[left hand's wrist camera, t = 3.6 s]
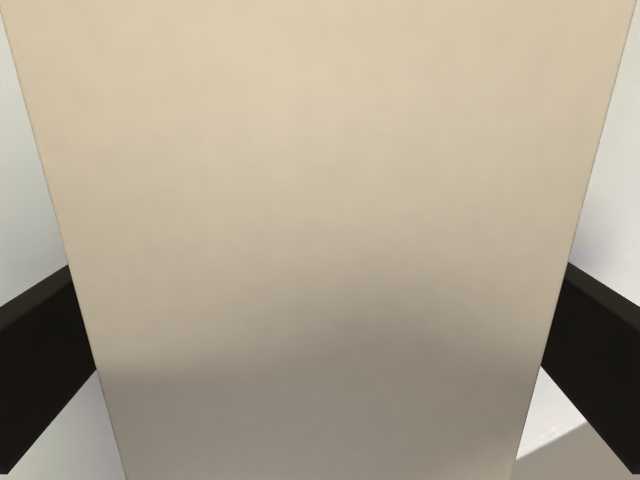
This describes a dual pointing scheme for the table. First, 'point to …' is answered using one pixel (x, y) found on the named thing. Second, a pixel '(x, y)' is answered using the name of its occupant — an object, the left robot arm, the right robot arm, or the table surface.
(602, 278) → the table surface
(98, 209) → the wide beam
